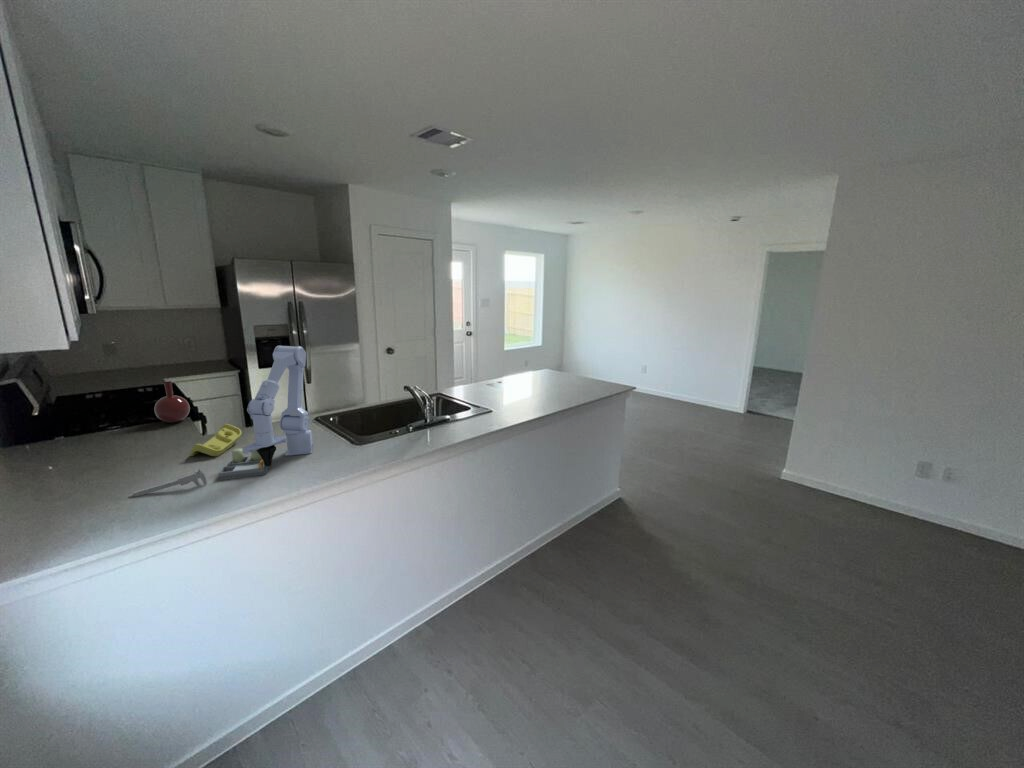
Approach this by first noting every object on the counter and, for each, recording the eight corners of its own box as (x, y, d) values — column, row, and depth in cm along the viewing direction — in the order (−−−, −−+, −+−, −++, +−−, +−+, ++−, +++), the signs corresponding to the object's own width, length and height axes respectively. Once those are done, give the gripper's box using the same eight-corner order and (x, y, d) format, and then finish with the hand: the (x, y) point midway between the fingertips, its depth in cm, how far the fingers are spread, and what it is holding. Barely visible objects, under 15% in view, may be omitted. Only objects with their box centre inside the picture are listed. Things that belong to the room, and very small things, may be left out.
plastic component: (219, 452, 157) (192, 442, 155) (213, 467, 159) (187, 457, 157) (246, 430, 176) (222, 421, 174) (241, 444, 178) (217, 435, 176)
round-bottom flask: (181, 425, 190) (174, 385, 185) (150, 426, 187) (142, 385, 183) (197, 417, 202) (191, 378, 198) (168, 417, 200) (160, 379, 195)
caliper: (207, 484, 138) (204, 467, 136) (206, 486, 137) (203, 469, 135) (129, 496, 129) (125, 479, 127) (128, 498, 128) (124, 480, 126)
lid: (264, 466, 149) (263, 459, 148) (262, 470, 146) (261, 463, 145) (236, 469, 146) (235, 462, 145) (233, 473, 143) (232, 466, 142)
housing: (272, 459, 158) (270, 443, 156) (264, 474, 145) (262, 457, 144) (230, 463, 153) (228, 447, 151) (219, 479, 141) (216, 461, 139)
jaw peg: (235, 462, 151) (233, 448, 150) (246, 461, 152) (244, 447, 151) (232, 466, 148) (230, 452, 147) (243, 465, 149) (241, 451, 148)
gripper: (278, 423, 152) (282, 456, 156) (236, 434, 141) (241, 469, 144) (288, 427, 149) (292, 460, 152) (245, 438, 137) (250, 474, 140)
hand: (268, 465), depth 148 cm, fingers closed
